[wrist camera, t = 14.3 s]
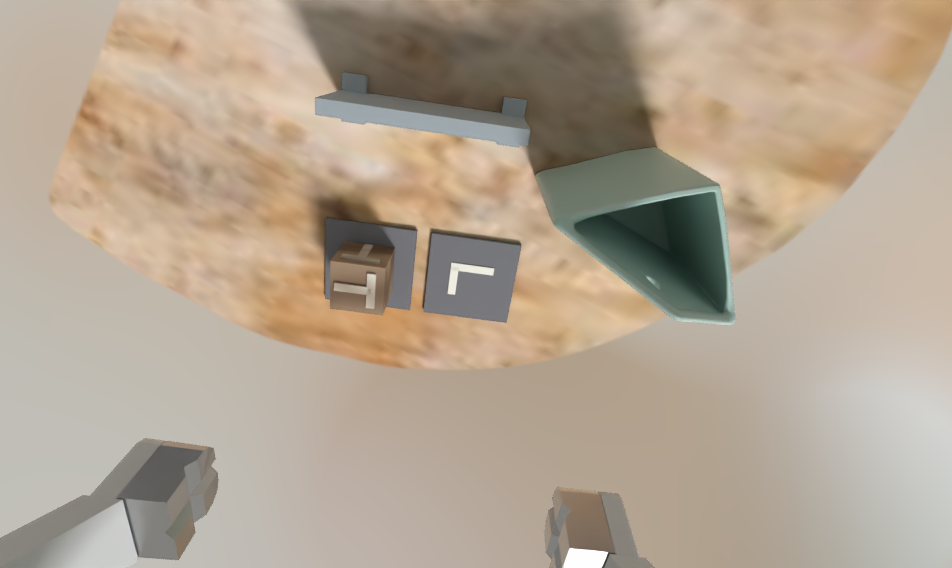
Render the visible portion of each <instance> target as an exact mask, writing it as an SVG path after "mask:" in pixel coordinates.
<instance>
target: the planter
mask: <svg viewBox="0 0 952 568" xmlns="http://www.w3.org/2000/svg"><path fill="white" fill-rule="evenodd" d="M535 178H536V181H537V183H538V186H539V189H540V192H541V194H542V197H543V200H544V202H545V205H546V208H547V210H548V213H549V216H550V218H551V220H552V222H553V224H554V226H555V227H556V228H557V229H559V230H560V231H561V232H562V233H564V234H565V235H566V236H567V237H569V238H570V239H571V240H573V241H574V242H575V243H576V244H578V245H579V246H580V247H581V248H583V249H584V250H585V251H586V252H588V253H589V254H590V255H591V256H593V257H594V258H595V259H596V260H598V261H599V262H600V263H602V264H603V265H604V266H605V267H607V268H608V269H609V270H611V271H612V272H613V273H615V274H616V275H617V276H618V277H620V278H621V279H622V280H624V281H625V282H626V283H627V284H629V285H630V286H631V287H632V288H634V289H635V290H636V291H638V292H639V293H640V294H641V295H643V296H644V297H645V298H646V299H648V300H649V301H650V302H651V303H653V304H654V305H655V306H657V307H658V308H659V309H660V310H662V311H663V312H664V313H665V314H666V315H668V316H669V317H671V318H672V319H674V320H676V321H685V322H701V323H710V324H724V325H732V324H733V323H734V322H735V320H736V316H735V309H734V301H733V291H732V279H731V267H730V254H729V243H728V232H727V222H726V216H725V210H724V204H723V199H722V193H721V187H720V185H719V184H718V183H716V182H714V181H713V180H711V179H709V178H708V177H706V176H704V175H703V174H701V173H699V172H697V171H696V170H694V169H692V168H691V167H689V166H687V165H685V164H684V163H682V162H680V161H679V160H677V159H675V158H673V157H672V156H670V155H668V154H667V153H665V152H663V151H662V150H660V149H658V148H656V147H650V148H643V149H636V150H630V151H624V152H620V153H615V154H611V155H607V156H603V157H599V158H595V159H591V160H587V161H584V162H580V163H576V164H571V165H567V166H562V167H557V168H553V169H548V170H544V171H541V172H538V173H537V174H536V175H535Z"/></svg>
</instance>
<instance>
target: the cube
mask: <svg viewBox="0 0 952 568" xmlns="http://www.w3.org/2000/svg"><path fill="white" fill-rule="evenodd" d="M394 254H395V248H393V247H385V246H378V245H371V244H364V243H356V242H349V241H345V242H344V243H343V244H342V246H341V247H340V248H339V250H338V251H337V253H336V254H335V255H334V257H333V258H332V259H331V261H330V309H337V310H345V311H353V312H360V313H368V314H375V315H383V313H384V310H385V308H386V305H387V303H388V300H389V298H390V295H391V293H392V282H393V268H394Z"/></svg>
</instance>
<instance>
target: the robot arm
mask: <svg viewBox="0 0 952 568" xmlns="http://www.w3.org/2000/svg"><path fill="white" fill-rule="evenodd" d="M215 459H216V458H215V453H214V448H211V447H206V446H198V445H192V444H185V443H178V442H171V441H162V440H155V439H148V438H145V439H143V440H142V441H140V442H138V443H137V444H136V445H135V446H134V447H133V448H132V449H131V450H130V452H129V453H128V454H127V455H126V456H125V457H124V458H123V459H122V461H121V462H120V463H119V464H118V465H117V466H116V467H115V468H114V470H113V471H112V472H111V473H110V474H109V475H108V476H107V477H106V478H105V480H104V481H103V482H102V483H101V484H100V485H99V486H98V487H97V488H96V490H95V491H94V492H93V493H92V494H91V495H90V496H87V495H82V496H80V497H79V498H77V499H75V500H73V501H71V502H69V503H67V504H65V505H63V506H61V507H59V508H57V509H56V510H53V511H52V512H50V513H48V514H46V515H44V516H42V517H40V518H38V519H36V520H34V521H32V522H30V523H28V524H26V525H24V526H22V527H20V528H19V529H17V530H15V531H13V532H11V533H9V534H7V535H5V536H3V537H1V538H0V568H128V567H129V566H131V565H132V564H133V563H134V562H136V561H137V560H138V557H144V558H157V559H169V560H179V559H180V557H181V555H182V554H183V552H184V551H185V549H186V547H187V546H188V544H189V542H190V541H191V539H192V537H193V535H194V534H195V527H194V522H196V521H197V520H199V519H200V518H202V517H203V516H205V515H206V514H207V512H208V511H209V509H210V507H211V506H212V504H213V501H214V498H215V495H216V493H217V489H218V473H217V472H216V470H215V469H214V468H213V467H212V466H211V465H212V463H213V462H214V460H215ZM552 500H553V506H554V507H553V508H552V509H550V510H549V511H548V514H547V518H546V524H545V548H546V553H547V554H548V556H549V557H550V558H551V564H550V567H549V568H655V567H654V566H653V565H652V564H651V563H650V562H649V561H648V560H647V559H646V558H643V557H639V553H638V550H637V547H636V544H635V540H634V537H633V534H632V531H631V528H630V524H629V521H628V518H627V515H626V511H625V508H624V505H623V502H622V498H621V497H620V495H619V494H616V493H607V492H596V491H591V490H582V489H572V488H561V487H557V488H556V489H555V491H554V494H553V497H552Z"/></svg>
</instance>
